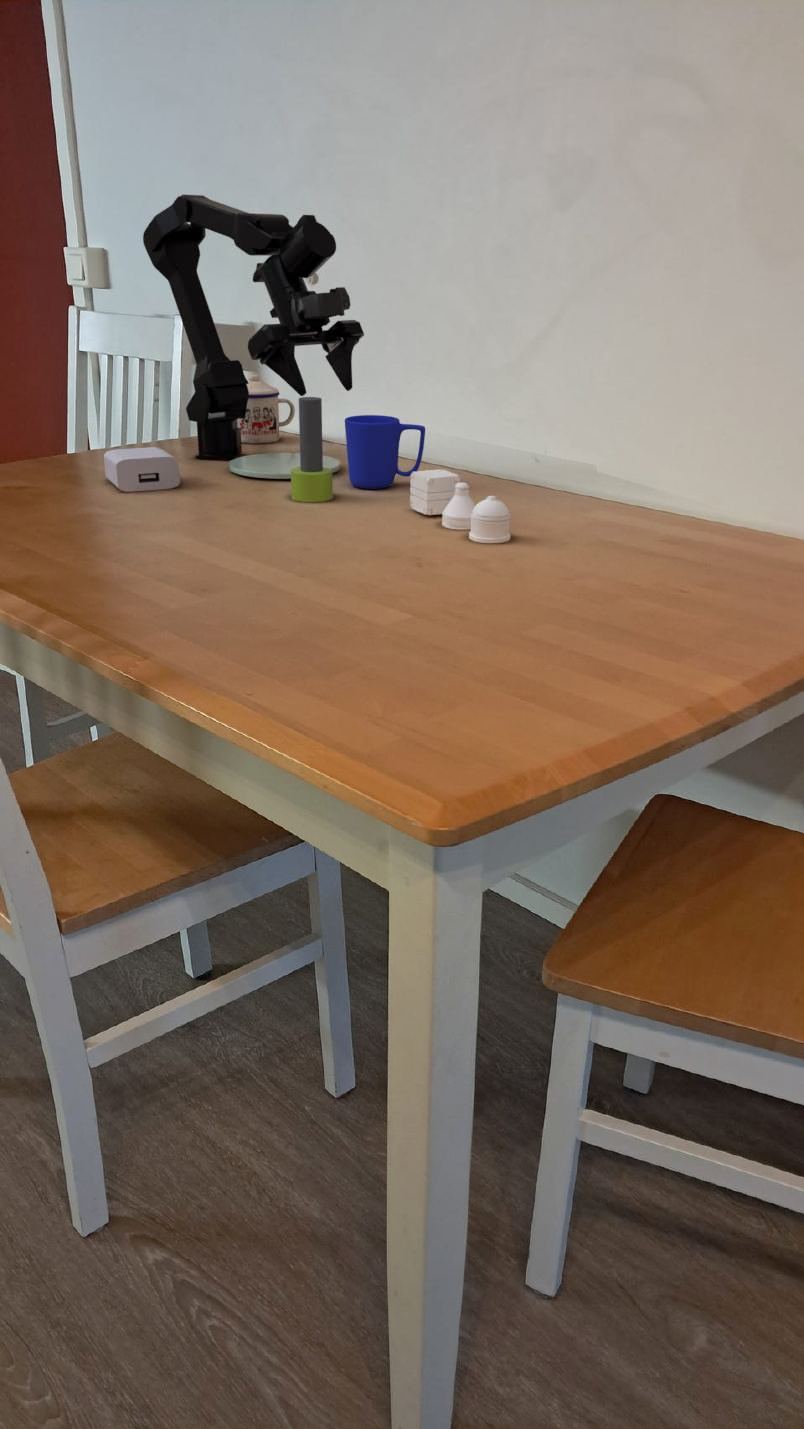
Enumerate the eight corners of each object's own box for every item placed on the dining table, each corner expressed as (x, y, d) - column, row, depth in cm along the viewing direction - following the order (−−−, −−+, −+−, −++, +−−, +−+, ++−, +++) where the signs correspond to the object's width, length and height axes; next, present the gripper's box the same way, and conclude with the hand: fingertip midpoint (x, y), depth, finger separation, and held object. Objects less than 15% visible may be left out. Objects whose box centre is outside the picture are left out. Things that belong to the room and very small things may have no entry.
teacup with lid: (237, 445, 194) (234, 378, 189) (227, 437, 201) (224, 372, 197) (301, 442, 197) (299, 376, 193) (289, 434, 205) (287, 371, 201)
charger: (155, 469, 173) (180, 487, 160) (98, 474, 169) (118, 492, 156) (153, 440, 171) (178, 455, 158) (95, 443, 167) (115, 460, 155)
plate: (214, 478, 167) (214, 470, 166) (247, 457, 183) (246, 450, 182) (327, 483, 164) (326, 475, 164) (349, 462, 180) (349, 454, 180)
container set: (409, 510, 148) (409, 471, 146) (442, 507, 150) (443, 468, 148) (482, 545, 132) (484, 501, 130) (518, 540, 134) (520, 497, 132)
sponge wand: (287, 501, 153) (283, 400, 147) (297, 492, 158) (294, 394, 153) (328, 503, 152) (326, 401, 146) (336, 494, 158) (335, 396, 152)
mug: (423, 492, 159) (425, 424, 155) (343, 491, 159) (342, 422, 155) (424, 481, 167) (425, 415, 163) (347, 479, 167) (346, 414, 163)
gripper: (268, 265, 148) (309, 371, 148) (365, 265, 160) (403, 362, 160) (229, 307, 156) (268, 407, 156) (324, 303, 168) (360, 396, 168)
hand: (327, 392), depth 160 cm, fingers open, 9 cm apart
